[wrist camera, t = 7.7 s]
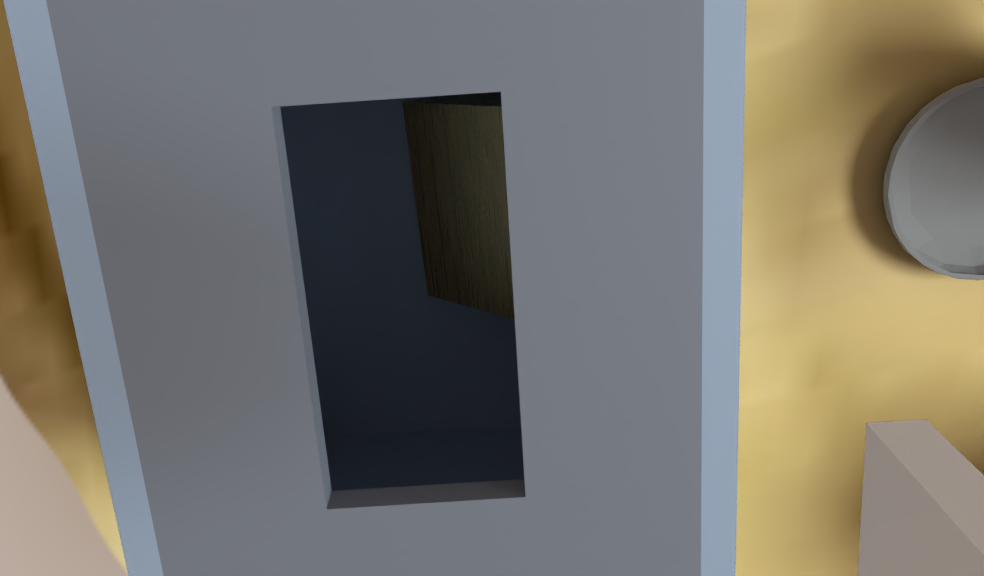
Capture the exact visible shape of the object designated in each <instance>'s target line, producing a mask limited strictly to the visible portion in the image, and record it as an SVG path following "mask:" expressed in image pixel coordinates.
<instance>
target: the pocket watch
mask: <svg viewBox="0 0 984 576" xmlns="http://www.w3.org/2000/svg"><path fill="white" fill-rule="evenodd" d="M883 203H884V208H885V212H886V217H887V221H888V223H889V225H890V227H891V229H892V232H893V234H894V236H895V237H896V238H897V240H898V241H899V243H900V244H901V246H902V248H903V249H904V250H905V251H906V252H908V253H909V254H910V255H911V256H912V257H914V258H915V259H916V260H917V261H919V262H920V263H921V264H922V265H924V266H925V267H926V268H928V269H930V270H932V271H935V272H937V273H939V274H943V275H946V276H950V277H953V278H957V279H969V280H983V279H984V77H983V78H980V79H977V80H973V81H970V82H967V83H963V84H960V85H957V86H955V87H953V88H952V89H950V90H948V91H946V92H944V93H942V94H940V95H938V96H937V97H936V98H935V99H933V100H932V101H931V102H929V103H928V104H927V105H926V106H924V107H923V108H922V109H921V110H920V111H919V112H918V113H917V114H916V115H915V116H914V117H913V118H912V120H911V121H910V122H909V123H908V124H907V125H906V127H905V128H904V130H903V132H902V133H901V135H900V136H899V138H898V140H897V141H896V143H895V145H894V146H893V148H892V151H891V155H890V158H889V161H888V164H887V168H886V171H885V174H884V185H883Z"/></svg>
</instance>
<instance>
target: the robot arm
mask: <svg viewBox="0 0 984 576" xmlns="http://www.w3.org/2000/svg"><path fill="white" fill-rule="evenodd" d="M858 576H984V475H983V474H982V473H981V472H980V471H979V470H978V469H977V468H976V467H975V466H974V465H973V464H972V463H971V462H969V461H968V460H967V459H966V458H965V457H964V456H963V455H962V454H961V453H960V452H959V451H958V450H957V449H956V448H955V447H954V446H953V445H952V444H951V443H950V442H949V441H948V440H947V439H946V438H945V437H944V436H943V435H942V434H941V433H940V432H939V431H937V430H936V429H935V428H934V427H933V426H932V425H931V424H930V423H929V422H928V421H927V420H926V419H923V420H906V421H890V422H873V423H866V439H865V456H864V474H863V491H862V508H861V526H860V543H859V560H858Z"/></svg>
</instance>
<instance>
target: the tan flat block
mask: <svg viewBox="0 0 984 576" xmlns="http://www.w3.org/2000/svg"><path fill="white" fill-rule="evenodd" d="M403 111H404V118H405V126H406V134H407V141H408V149H409V157H410V164H411V172H412V180H413V187H414V195H415V203H416V210H417V218H418V226H419V233H420V241H421V249H422V256H423V264H424V272H425V279H426V287H427V295H428V296H432V297H435V298H439V299H443V300H446V301H450V302H453V303H457V304H461V305H464V306H468V307H471V308H475V309H479V310H482V311H486V312H489V313H493V314H497V315H500V316H504V317H507V318H511V319H514V305H513V288H512V272H511V256H510V239H509V223H508V207H507V190H506V174H505V158H504V141H503V125H502V109H501V93H500V92H488V93H473V94H458V95H444V96H433V97H428V98H423V99H418V100H413V101H408V102H403Z"/></svg>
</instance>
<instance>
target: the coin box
mask: <svg viewBox="0 0 984 576" xmlns="http://www.w3.org/2000/svg"><path fill="white" fill-rule="evenodd" d="M3 1H4V6H5V11H6V15H7V20H8V24H9V29H10V33H11V38H12V43H13V47H14V52H15V56H16V61H17V66H18V70H19V75H20V79H21V84H22V89H23V93H24V98H25V102H26V107H27V111H28V116H29V121H30V125H31V130H32V134H33V139H34V144H35V148H36V153H37V157H38V162H39V167H40V171H41V176H42V180H43V185H44V190H45V194H46V199H47V203H48V208H49V212H50V217H51V222H52V226H53V231H54V235H55V240H56V245H57V249H58V254H59V258H60V263H61V268H62V272H63V277H64V281H65V286H66V290H67V295H68V300H69V304H70V309H71V313H72V318H73V323H74V327H75V332H76V336H77V341H78V346H79V350H80V355H81V359H82V364H83V368H84V373H85V378H86V382H87V387H88V391H89V396H90V401H91V405H92V410H93V414H94V419H95V424H96V428H97V433H98V437H99V442H100V446H101V451H102V456H103V460H104V465H105V469H106V474H107V479H108V483H109V488H110V492H111V497H112V502H113V506H114V511H115V515H116V520H117V525H118V529H119V534H120V538H121V543H122V547H123V552H124V557H125V561H126V566H127V570H128V575H129V576H735V569H736V516H737V463H738V410H739V357H740V304H741V251H742V197H743V144H744V91H745V38H746V0H3ZM488 92H500V93H501V109H502V125H503V141H504V158H505V174H506V190H507V207H508V223H509V239H510V256H511V272H512V288H513V305H514V319H511V318H507V317H504V316H500V315H497V314H493V313H489V312H486V311H482V310H479V309H475V308H471V307H468V306H464V305H461V304H457V303H453V302H450V301H446V300H443V299H439V298H435V297H432V296H428V295H427V287H426V279H425V272H424V264H423V256H422V249H421V241H420V233H419V226H418V218H417V210H416V203H415V195H414V187H413V180H412V172H411V164H410V157H409V149H408V141H407V134H406V126H405V118H404V111H403V102H408V101H413V100H418V99H423V98H428V97H433V96H444V95H458V94H473V93H488Z"/></svg>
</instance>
